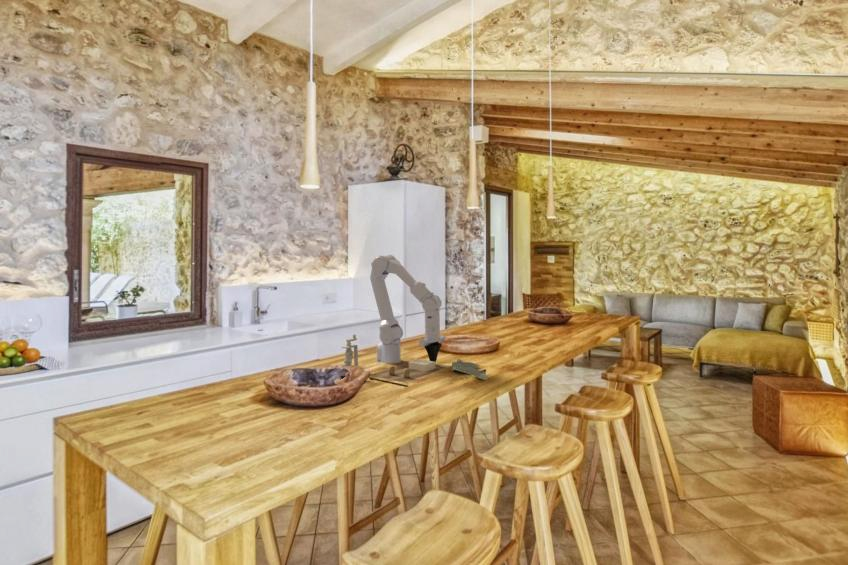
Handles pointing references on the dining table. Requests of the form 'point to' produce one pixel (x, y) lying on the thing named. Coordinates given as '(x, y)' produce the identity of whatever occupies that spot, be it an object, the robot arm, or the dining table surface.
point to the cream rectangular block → (422, 365)
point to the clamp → (351, 352)
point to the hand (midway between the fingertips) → (432, 361)
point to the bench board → (402, 374)
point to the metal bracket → (469, 369)
